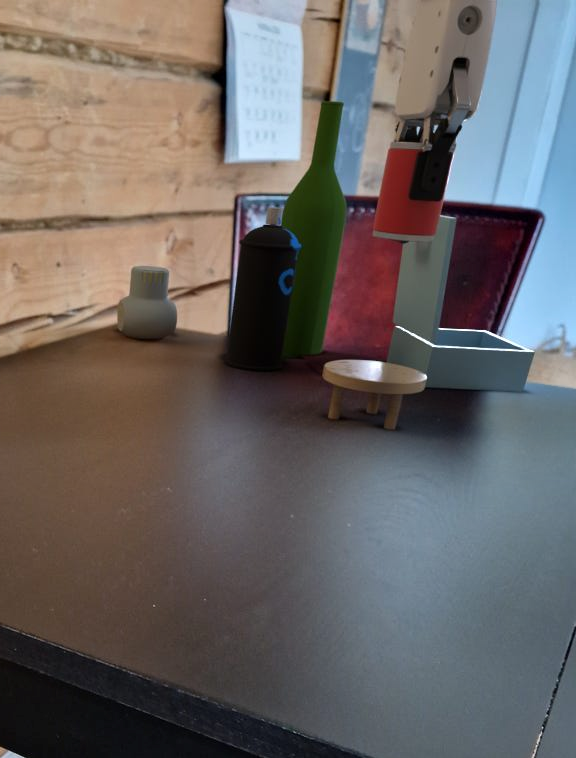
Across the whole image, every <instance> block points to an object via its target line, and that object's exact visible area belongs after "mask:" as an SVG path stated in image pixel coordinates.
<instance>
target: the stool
mask: <svg viewBox="0 0 576 758" xmlns="http://www.w3.org/2000/svg"><path fill="white" fill-rule="evenodd" d="M321 376H322V378H323V380H324V381H326V382H327V383H330V384H331V385H333V389H332V395H331V400H330V405H329V410H328V415H327V418H329V419H331V420H339V419H340V414H341V410H342V405H343V401H344V400H343V399H344V395H345V390H346V389H348V390H352V391H353V390H354V391H358V392H364V393H369V397H368V402H367V407H366V411H365V412H366V413H367V414H371V415H372V414H373V415H377V414H378V410H379V405H380V401H381V397H382V395H390V396H389V397H390V398H389V402H388V407H387V411H386V415H385V420H384V423H383V424H384V425H383V428H384V429H386V430H395V429H396V426H397V422H398V418H399V413H400V409H401V404H402V401H403V395H413V394H418V393H421V392H423V391H424V390H425V388H426V387H425V385H426V380H427V376H426V375H425V374H424V373H422V372H420V371H418V370H415V369H412V368H409V367H405V366H401V365H396V364H391V363H386V362H384V361H376V360H365V359H338V360H337V359H336V360H332V361H328V362H325V364H324V365H323V369H322V375H321Z"/></svg>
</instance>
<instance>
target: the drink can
mask: <svg viewBox="0 0 576 758" xmlns="http://www.w3.org/2000/svg"><path fill="white" fill-rule="evenodd" d="M422 146H423V143H415V142H394V141H391V142H390V144H389V148H388V149H387V156H386V159H385V164H384V169H383V173H382V174H383V175H382V179H381V185H380V189H379V194H378V199H377V205H376V210H375V215H374V220H373V225H372V230H373V231H372V237H374V238H378V239H383V240H384V239H385V240H389V239H391V240H390V241H392V240H401V241H416V242H431V241H433V239H434V235H436V231H437V226H438V222H439V218H440V215H441V214H442V209H443V205H444V199H445V196H446V192H447V187H448V183H449V179H450V174H451V169H452V165H453V161H454V156H455V152H454V153H453V155H452V159H451V163H450V168H449V172H448V176H447V181H446V185H445V189H444V194H443V198H442V200H441V201H438V202H436V201H420V200H410V199H409V197H408V194H409V190H410V185H411V180H412V175H413V171H414V166H415V161H416V157H417V152H423V151H422Z"/></svg>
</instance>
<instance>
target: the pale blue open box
mask: <svg viewBox="0 0 576 758" xmlns="http://www.w3.org/2000/svg"><path fill="white" fill-rule="evenodd" d="M392 330H393V332H392V335H391V339H390V344H389V348H388V353H387V359H386V362H385V363H391V364H396V365H401V366H405V367H409V368H412V369H415V370H418V371H420V372H422V373H424V374H425V375H426V376H427V380H426V385H425V388H436V389H437V388H438V389H457V390H458V389H459V390H478V391H498V392H499V391H500V392H516V393H517V392H519V393H520V392H521V393H523V392H524V390H525V388H526V387H525V386H526V383H527V379H528V377H529V373H530V370H531V367H532V365H533V364H532V363H533V360H534V357H535V353H536V352H535V351H534V350H531V349H529V348H527V347H524V346H522V345H519V344H517V343H515V342H513V341H510V340H508V339H506V338H504V337H501V336H500V335H497V334H495V333H492V332H490V331H488V330H481V329H480V330H479V329H477V330H476V329H462V328H461V329H460V328H459V329H458V328H441V327H439V330H438V336H437V342H436V343H430V342H428V341H426V340H424V339H422V338H421V337H419V336H417V335H415V334H413V333H411V332H409V331H407V330H406V329H404V328H402V327H400V326H398V325H394V327H393V329H392Z"/></svg>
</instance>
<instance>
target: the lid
mask: <svg viewBox="0 0 576 758" xmlns="http://www.w3.org/2000/svg"><path fill="white" fill-rule="evenodd" d="M456 224H457V217H453V216H448V215H442V214H440V218H439V222H438V226H437V231H436V235H434V239H433V241H431V242H416V241H401V240H391V239H388V240H389V241H392V242H396V243H398V244H399V243H400V244H402V250H401V256H400V265H399V270H398V271H399V272H398V278H397V279H398V280H397V288H396V293H395V294H396V295H395V301H394V302H395V303H394V308H393V316H392V324H394V325H395V326H400V327H402V328H404V329H406V330H407V331H409V332H411V333H413V334H415V335H417V336H419V337H421V338H422V339H424V340H426V341H428V342H430V343H436V342H437V336H438V330H439V328H440V324H441V323H440V322H441V317H442V311H443V306H444V298H445V292H446V287H447V281H448V273H449V267H450V261H451V256H452V250H453V245H454V237H455V232H456V231H455V230H456V226H457V225H456Z"/></svg>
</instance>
